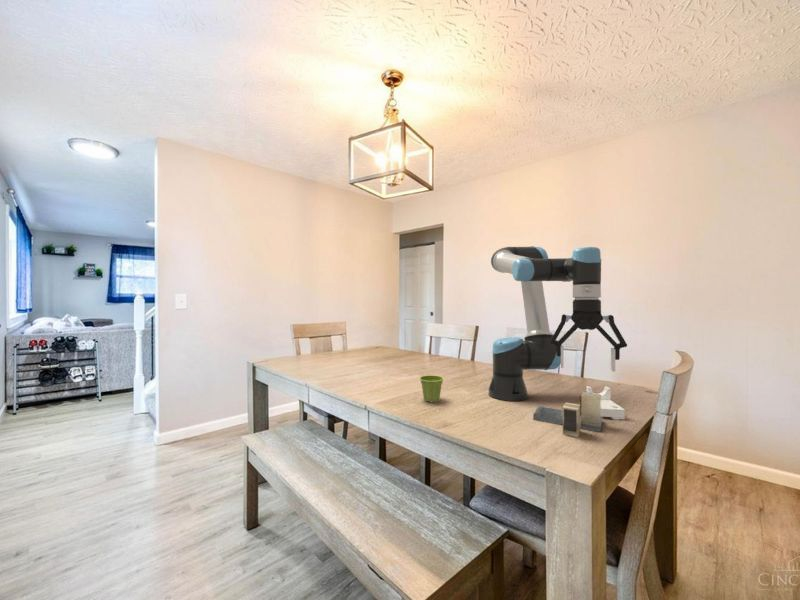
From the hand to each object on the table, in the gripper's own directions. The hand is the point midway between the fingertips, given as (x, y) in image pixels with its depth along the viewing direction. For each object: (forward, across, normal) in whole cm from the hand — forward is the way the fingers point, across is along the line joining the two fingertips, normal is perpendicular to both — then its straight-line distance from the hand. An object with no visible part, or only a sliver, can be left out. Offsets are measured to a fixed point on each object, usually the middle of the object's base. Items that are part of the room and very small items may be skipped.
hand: (586, 368), depth 103 cm
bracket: (+19, +7, +19) cm, 27 cm away
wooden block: (+18, -4, -5) cm, 19 cm away
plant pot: (+18, -53, +8) cm, 57 cm away
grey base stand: (+18, -5, +5) cm, 20 cm away
